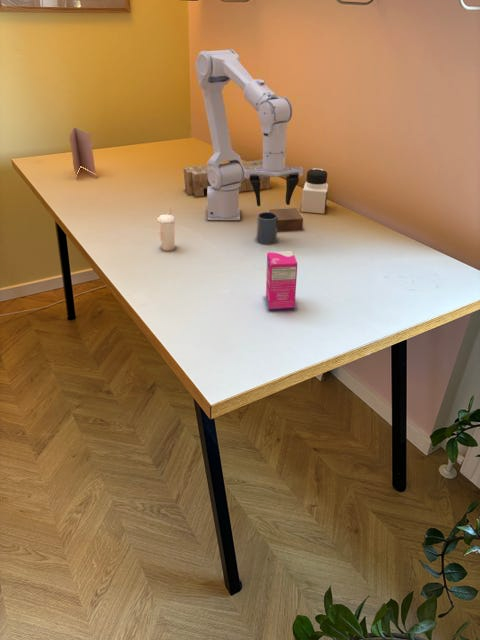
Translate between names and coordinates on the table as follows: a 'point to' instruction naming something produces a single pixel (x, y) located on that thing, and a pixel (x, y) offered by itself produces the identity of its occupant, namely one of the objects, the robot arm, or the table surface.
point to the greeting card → (82, 152)
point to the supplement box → (281, 280)
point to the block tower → (199, 182)
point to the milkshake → (167, 231)
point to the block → (288, 219)
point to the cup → (266, 227)
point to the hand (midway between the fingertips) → (273, 204)
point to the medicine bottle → (315, 192)
